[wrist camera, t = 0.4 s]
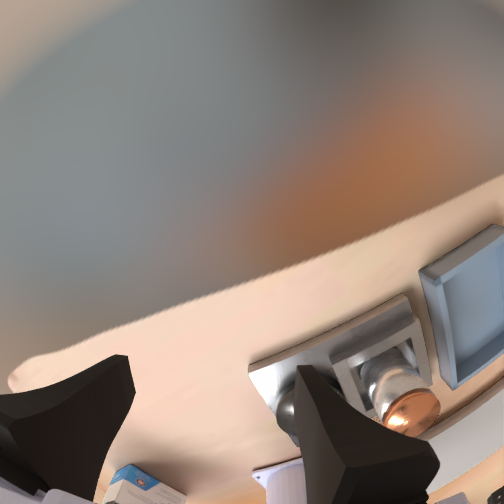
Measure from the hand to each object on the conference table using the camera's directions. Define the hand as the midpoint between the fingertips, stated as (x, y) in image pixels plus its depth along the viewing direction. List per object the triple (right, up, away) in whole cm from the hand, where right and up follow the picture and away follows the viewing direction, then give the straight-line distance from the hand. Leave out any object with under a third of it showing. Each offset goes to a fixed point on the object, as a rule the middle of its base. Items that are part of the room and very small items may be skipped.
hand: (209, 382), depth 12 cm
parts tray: (+21, +1, +10) cm, 23 cm away
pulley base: (+10, -5, +11) cm, 15 cm away
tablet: (+30, -18, +14) cm, 37 cm away
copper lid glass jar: (+12, -4, +10) cm, 16 cm away
